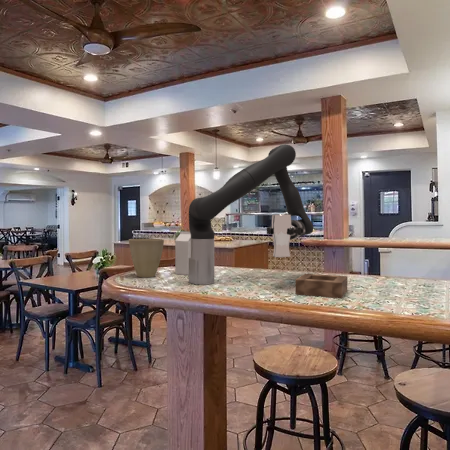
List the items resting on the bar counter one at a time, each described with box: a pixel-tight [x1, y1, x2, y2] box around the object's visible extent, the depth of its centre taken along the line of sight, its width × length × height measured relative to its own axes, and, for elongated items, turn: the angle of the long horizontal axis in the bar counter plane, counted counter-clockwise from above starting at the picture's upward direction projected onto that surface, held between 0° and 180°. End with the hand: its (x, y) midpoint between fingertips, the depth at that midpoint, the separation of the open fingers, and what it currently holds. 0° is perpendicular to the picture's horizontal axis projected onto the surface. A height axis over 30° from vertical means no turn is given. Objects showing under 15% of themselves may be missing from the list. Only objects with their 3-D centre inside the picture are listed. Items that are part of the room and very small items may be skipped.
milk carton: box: [174, 231, 191, 276], centre depth 176 cm, size 7×7×19 cm
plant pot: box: [128, 238, 165, 279], centre depth 168 cm, size 15×15×16 cm
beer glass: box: [271, 214, 292, 258], centre depth 141 cm, size 7×7×15 cm
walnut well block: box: [294, 273, 348, 299], centre depth 135 cm, size 15×15×5 cm
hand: (280, 231), depth 139 cm, fingers closed on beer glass, 6 cm apart
